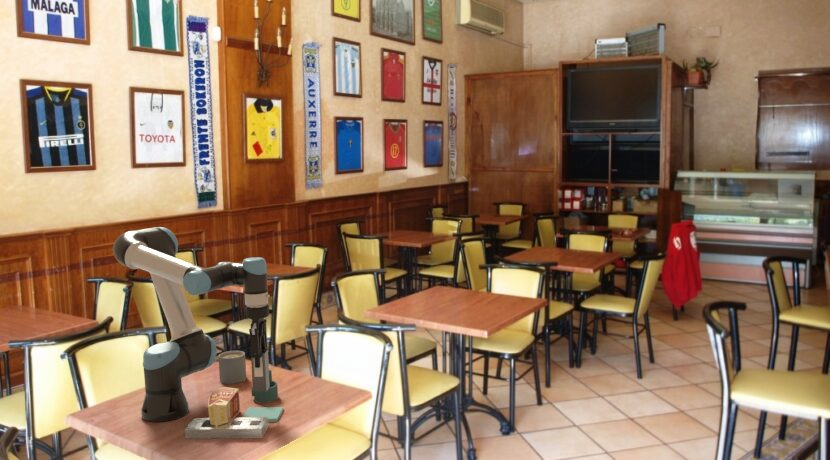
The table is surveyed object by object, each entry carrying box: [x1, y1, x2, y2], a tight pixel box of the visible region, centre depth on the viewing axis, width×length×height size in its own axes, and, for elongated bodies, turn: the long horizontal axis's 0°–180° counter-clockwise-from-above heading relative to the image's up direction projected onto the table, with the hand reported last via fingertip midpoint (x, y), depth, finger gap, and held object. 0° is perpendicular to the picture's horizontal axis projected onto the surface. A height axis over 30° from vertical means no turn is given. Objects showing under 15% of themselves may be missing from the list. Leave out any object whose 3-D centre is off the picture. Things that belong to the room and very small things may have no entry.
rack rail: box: [183, 417, 270, 440], centre depth 219 cm, size 24×9×3 cm, turn 89°
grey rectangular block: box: [250, 348, 270, 392], centre depth 230 cm, size 4×4×13 cm
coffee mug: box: [218, 350, 247, 385], centre depth 270 cm, size 13×10×10 cm
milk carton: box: [207, 386, 241, 428], centre depth 226 cm, size 9×9×20 cm
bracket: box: [250, 369, 279, 404], centre depth 247 cm, size 9×9×9 cm
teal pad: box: [241, 406, 285, 423], centre depth 232 cm, size 12×10×1 cm
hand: (260, 373), depth 230 cm, fingers closed on grey rectangular block, 4 cm apart
